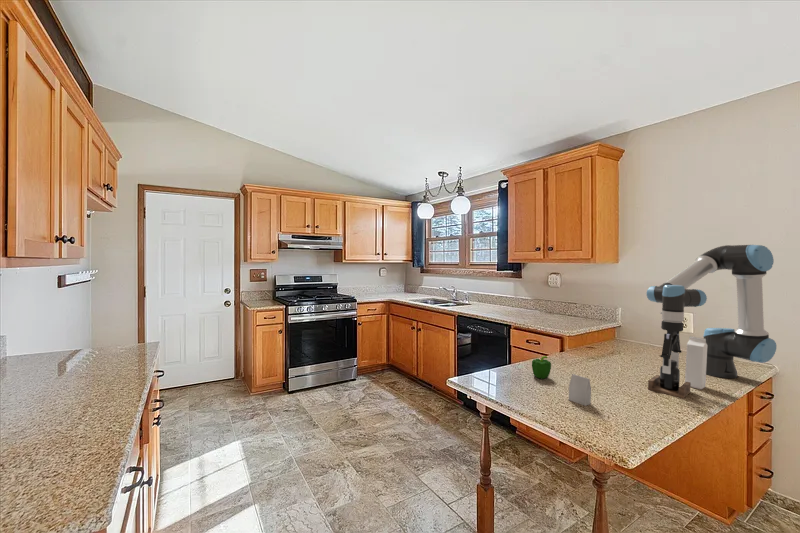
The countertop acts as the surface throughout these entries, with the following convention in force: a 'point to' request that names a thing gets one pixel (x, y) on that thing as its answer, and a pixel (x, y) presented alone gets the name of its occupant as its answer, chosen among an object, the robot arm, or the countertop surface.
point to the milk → (696, 362)
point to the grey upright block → (580, 390)
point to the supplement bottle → (670, 378)
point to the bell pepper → (541, 367)
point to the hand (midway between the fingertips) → (670, 370)
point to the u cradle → (655, 386)
